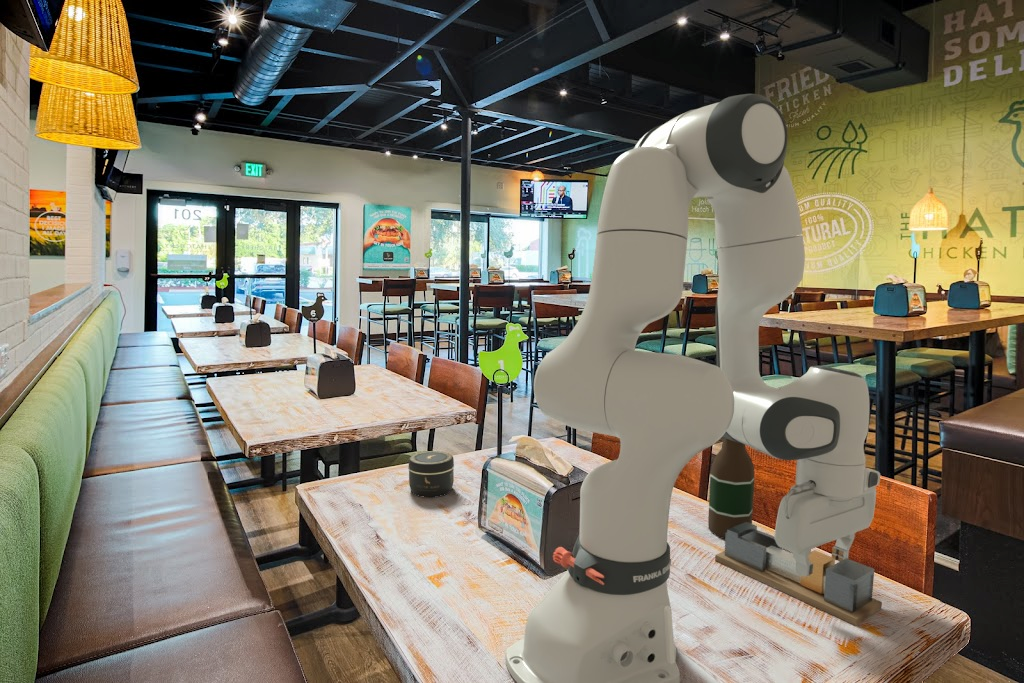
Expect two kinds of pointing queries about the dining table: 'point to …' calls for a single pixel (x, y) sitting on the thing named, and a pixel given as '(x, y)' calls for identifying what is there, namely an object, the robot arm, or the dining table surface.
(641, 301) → the robot arm
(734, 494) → the beer bottle
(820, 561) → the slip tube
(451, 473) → the jar
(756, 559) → the grey u-shaped bracket
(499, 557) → the dining table surface
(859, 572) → the socket
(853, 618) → the board
